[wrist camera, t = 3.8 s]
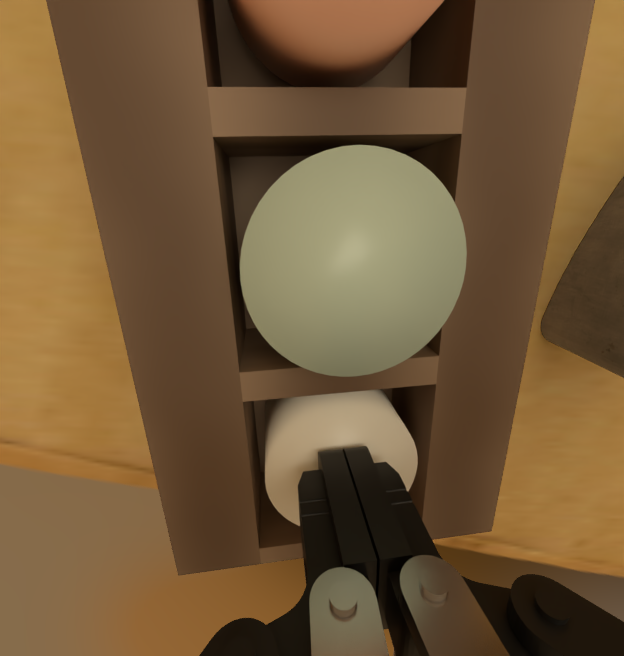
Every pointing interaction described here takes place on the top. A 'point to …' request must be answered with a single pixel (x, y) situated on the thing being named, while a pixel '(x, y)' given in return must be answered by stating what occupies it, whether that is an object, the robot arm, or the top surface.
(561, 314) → the hip flask
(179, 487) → the three egg wooden crate
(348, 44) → the orange brown egg
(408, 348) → the pale green egg
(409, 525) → the robot arm
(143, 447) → the top surface
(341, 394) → the pale beige egg
